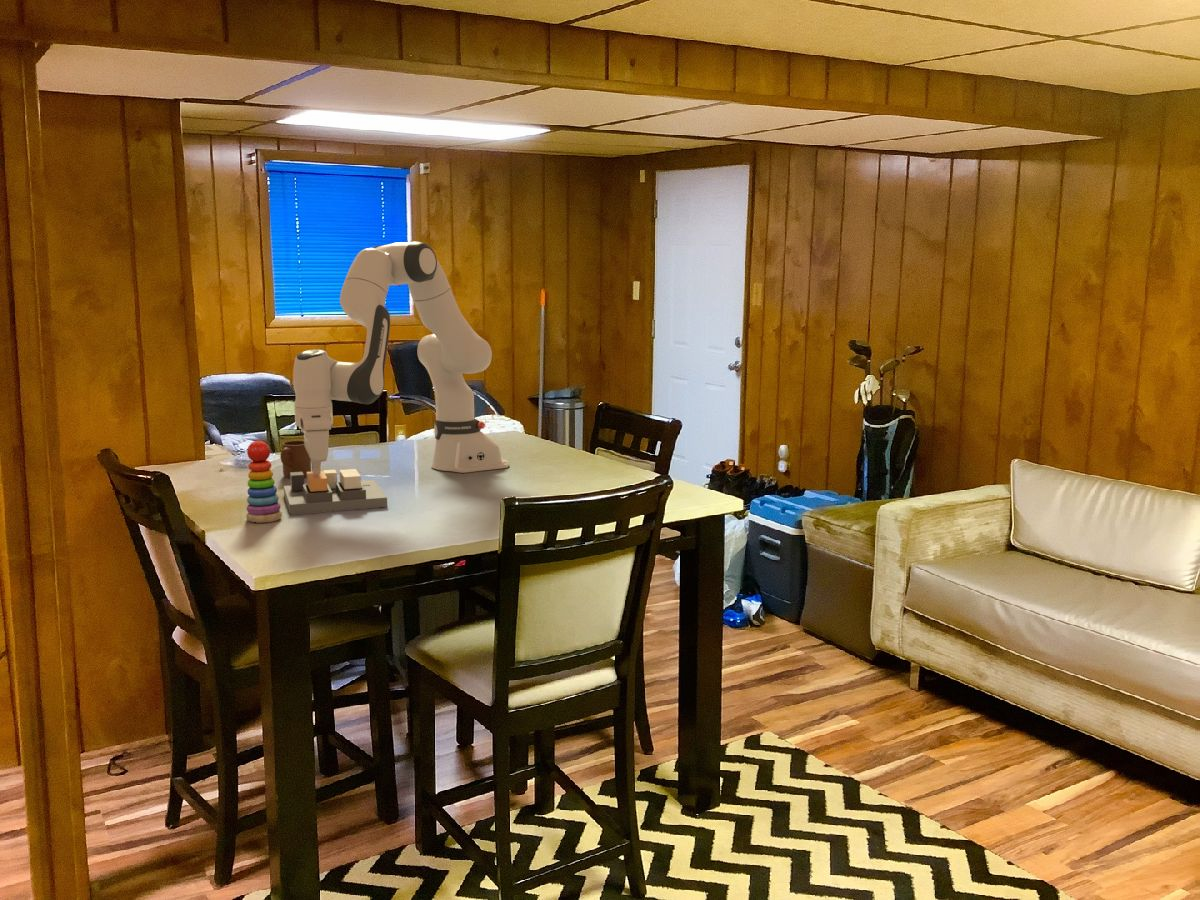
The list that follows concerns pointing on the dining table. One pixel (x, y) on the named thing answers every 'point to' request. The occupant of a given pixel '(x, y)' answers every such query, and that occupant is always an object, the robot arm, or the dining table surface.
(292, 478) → the slider
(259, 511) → the stacking toy
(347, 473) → the button
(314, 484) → the button
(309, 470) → the mug
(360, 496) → the grey base platform
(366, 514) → the dining table surface
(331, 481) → the slider
